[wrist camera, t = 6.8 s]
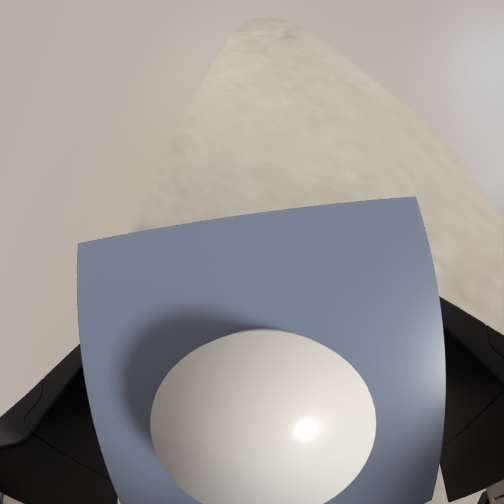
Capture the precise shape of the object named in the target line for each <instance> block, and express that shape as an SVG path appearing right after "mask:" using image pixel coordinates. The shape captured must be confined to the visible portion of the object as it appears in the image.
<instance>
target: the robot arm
mask: <svg viewBox="0 0 504 504" xmlns="http://www.w3.org/2000/svg"><path fill="white" fill-rule="evenodd" d="M439 299H440V307H441V315H442V323H443V334H444V347H445V370H446V395H445V418H444V430H443V440H442V448H441V456H440V462H439V463H440V467H441V471H442V476H443V480H444V484H445V489H446V494H447V499H448V502H452V501H455V500H458V499H460V498H463V497H466V496H468V495H471V494H473V493H476V492H478V491H481V490H483V489H485V488H486V491H484V492H483V493H482V495H481V497H480V499H479V501H478V503H477V504H504V335H502V334H501V333H499V332H497V331H496V330H494V329H493V328H491V327H490V326H488V325H485V323H483V322H481V321H480V320H478V319H477V318H475V317H473V316H472V315H470V314H468V313H467V312H465V311H463V310H462V309H460V308H458V307H457V306H455V305H453V304H452V303H450V302H448V301H446V300H445V299H443V298H441V297H440V296H439ZM117 502H118V496H117V493H116V491H115V488H114V486H113V483H112V481H111V478H110V475H109V472H108V469H107V467H106V464H105V461H104V457H103V454H102V451H101V448H100V444H99V441H98V437H97V434H96V430H95V426H94V422H93V418H92V413H91V409H90V404H89V399H88V394H87V389H86V383H85V377H84V370H83V363H82V355H81V346H80V344H79V345H78V346H77V347H76V348H75V349H74V350H73V351H71V352H70V354H69V355H67V356H66V357H65V358H64V359H63V360H62V361H61V362H60V363H59V364H58V365H57V366H56V367H54V368H53V369H52V370H51V371H50V372H49V373H48V374H47V375H46V376H45V377H44V379H42V380H41V381H40V382H39V383H38V384H37V385H36V386H35V387H34V388H33V389H32V390H31V391H30V392H29V393H27V394H26V395H25V396H24V397H23V398H22V399H21V400H20V401H18V402H17V403H16V404H15V405H14V406H13V407H11V408H10V409H9V410H8V411H7V412H6V413H5V414H4V415H2V416H1V417H0V504H117Z"/></svg>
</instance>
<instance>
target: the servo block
mask: <svg viewBox="0 0 504 504" xmlns="http://www.w3.org/2000/svg"><path fill="white" fill-rule="evenodd" d="M77 302H78V303H77V305H78V323H79V336H80V346H81V355H82V363H83V370H84V377H85V383H86V389H87V394H88V399H89V404H90V409H91V413H92V418H93V422H94V426H95V430H96V434H97V437H98V441H99V444H100V448H101V451H102V454H103V457H104V461H105V464H106V467H107V469H108V472H109V475H110V478H111V481H112V483H113V486H114V488H115V491H116V493H117V496H118V498H119V501H120V503H121V504H424V503H426V502H428V501H430V500H432V497H433V493H434V488H435V484H436V479H437V474H438V468H439V462H440V456H441V448H442V440H443V430H444V418H445V395H446V370H445V347H444V334H443V323H442V315H441V307H440V299H439V293H438V287H437V281H436V275H435V270H434V265H433V260H432V256H431V251H430V247H429V242H428V238H427V234H426V231H425V227H424V223H423V220H422V216H421V213H420V209H419V206H418V203H417V199H416V197H403V198H390V199H379V200H367V201H357V202H347V203H337V204H328V205H319V206H310V207H301V208H293V209H285V210H277V211H269V212H262V213H254V214H247V215H240V216H233V217H226V218H219V219H213V220H206V221H200V222H193V223H187V224H181V225H175V226H169V227H163V228H157V229H151V230H146V231H140V232H135V233H130V234H124V235H119V236H114V237H108V238H103V239H98V240H94V241H88V242H83V243H79V244H78V257H77Z"/></svg>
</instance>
